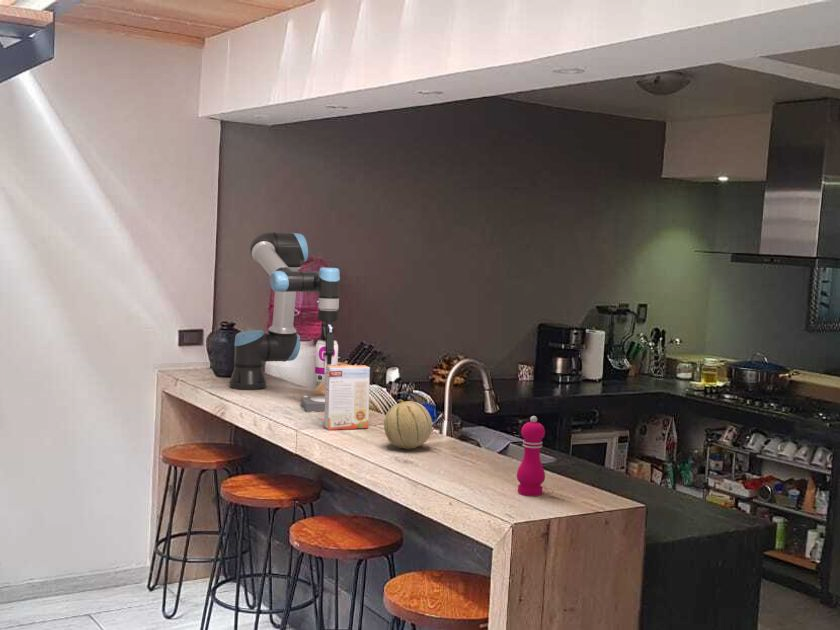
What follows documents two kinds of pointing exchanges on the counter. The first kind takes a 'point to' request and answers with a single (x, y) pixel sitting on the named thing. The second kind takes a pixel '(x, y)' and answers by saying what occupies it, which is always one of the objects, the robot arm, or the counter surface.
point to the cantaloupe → (407, 424)
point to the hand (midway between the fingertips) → (326, 371)
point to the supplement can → (323, 360)
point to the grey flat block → (313, 403)
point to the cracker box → (346, 397)
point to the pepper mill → (531, 459)
